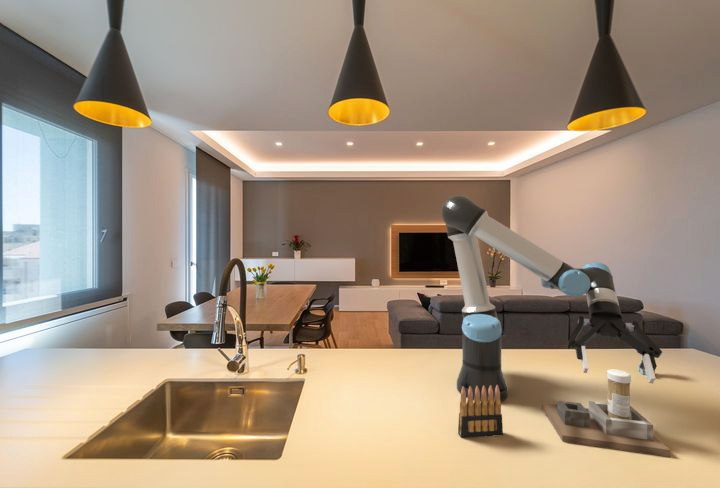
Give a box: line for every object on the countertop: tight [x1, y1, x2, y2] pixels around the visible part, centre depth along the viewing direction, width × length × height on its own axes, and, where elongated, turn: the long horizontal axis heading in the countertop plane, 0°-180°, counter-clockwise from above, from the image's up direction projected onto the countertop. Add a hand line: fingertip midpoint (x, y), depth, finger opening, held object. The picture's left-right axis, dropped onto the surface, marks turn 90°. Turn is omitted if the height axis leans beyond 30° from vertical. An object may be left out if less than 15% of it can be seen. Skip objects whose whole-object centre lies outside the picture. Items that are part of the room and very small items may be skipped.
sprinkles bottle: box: [606, 368, 632, 420], centre depth 79 cm, size 5×5×14 cm
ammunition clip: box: [457, 385, 504, 439], centre depth 78 cm, size 11×2×12 cm, turn 96°
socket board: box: [541, 400, 671, 458], centre depth 80 cm, size 21×16×5 cm
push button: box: [636, 350, 657, 377], centre depth 115 cm, size 7×5×10 cm
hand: (617, 375), depth 81 cm, fingers open, 13 cm apart
